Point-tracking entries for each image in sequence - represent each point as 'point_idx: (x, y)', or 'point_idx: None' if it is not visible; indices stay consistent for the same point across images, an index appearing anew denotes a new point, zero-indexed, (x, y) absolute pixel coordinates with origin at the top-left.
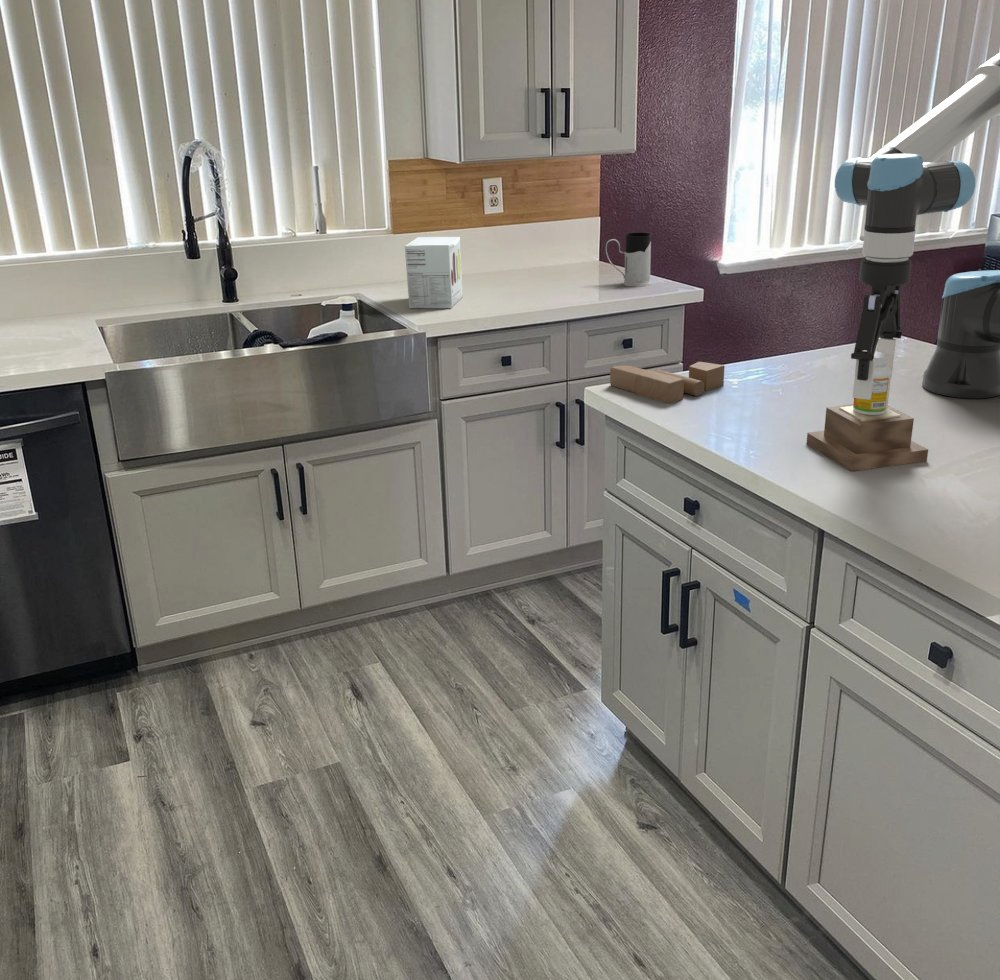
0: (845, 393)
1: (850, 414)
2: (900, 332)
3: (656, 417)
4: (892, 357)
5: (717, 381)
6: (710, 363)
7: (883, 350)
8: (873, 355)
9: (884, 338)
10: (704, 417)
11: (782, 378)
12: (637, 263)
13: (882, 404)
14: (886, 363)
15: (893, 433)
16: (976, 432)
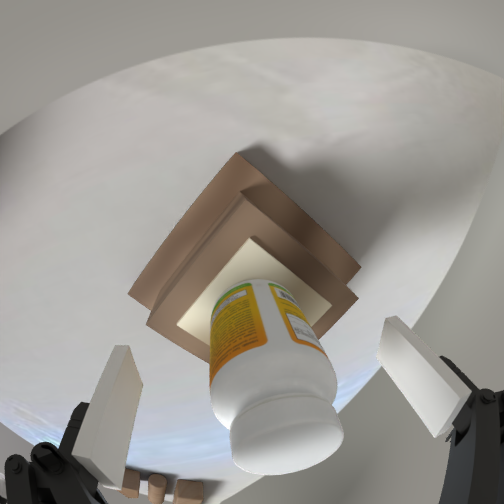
0: (20, 365)
1: None
2: (36, 462)
3: (251, 476)
4: (110, 398)
5: None
6: (119, 491)
7: (119, 441)
8: (489, 401)
9: (98, 478)
10: (223, 459)
11: (42, 425)
12: (4, 492)
13: (287, 296)
14: (300, 396)
15: (284, 230)
16: (37, 134)
